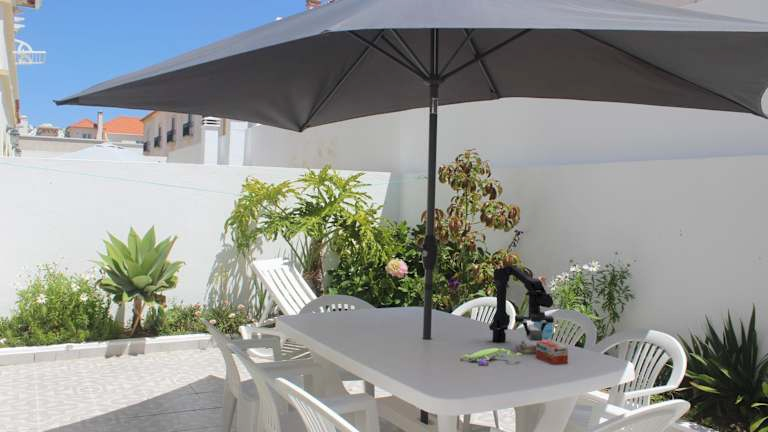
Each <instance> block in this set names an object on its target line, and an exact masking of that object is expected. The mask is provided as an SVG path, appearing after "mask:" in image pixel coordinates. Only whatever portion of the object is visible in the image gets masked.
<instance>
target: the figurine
mask: <svg viewBox="0 0 768 432" xmlns="http://www.w3.org/2000/svg"><path fill="white" fill-rule="evenodd" d="M504 353H506V356H507V357H512V358H513V357H515V358H516V357H518V356H523V354H522V353H519V352H517V353H515V354H513V353H512V352H511V350H509V349H505V348H504V347H502V348H497V347H492V348H486V349H482V350H478V351H476V352H474V353H472V354H470V355H469V353H466V354H464V355H462V356H461V357H460V360H461V361H462V360H464V359H465V358H468V359H470V360H473V361H474V362H478V366H479V365H480V366H488V365H489V363H490V357H489V356H491V355H499V354H500V355H501V357H502V355H503V354H504Z"/></svg>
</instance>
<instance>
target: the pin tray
mask: <svg viewBox="0 0 768 432" xmlns="http://www.w3.org/2000/svg"><path fill="white" fill-rule="evenodd" d="M515 348H516V349H517V351H518V353H522V355H536V345H535V344H532V345H531V344H526V343H525V340H520V344H516V347H515Z"/></svg>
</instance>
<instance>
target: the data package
mask: <svg viewBox="0 0 768 432" xmlns="http://www.w3.org/2000/svg"><path fill="white" fill-rule="evenodd" d="M545 316H548V315H547V314H545ZM540 326H541V322H533V327H538V328H539V329H540ZM551 338H553V323H548V324H546V325H545V327H544V329H543V332H542V339H551Z"/></svg>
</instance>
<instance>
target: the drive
mask: <svg viewBox="0 0 768 432" xmlns="http://www.w3.org/2000/svg"><path fill="white" fill-rule="evenodd" d="M527 328H528V336H527V334H526V333H525V337H526V339H528V340H529V341H530V342H539V341H543V338H542V330H541V329H539V328H538V327H534V326H527Z"/></svg>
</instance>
